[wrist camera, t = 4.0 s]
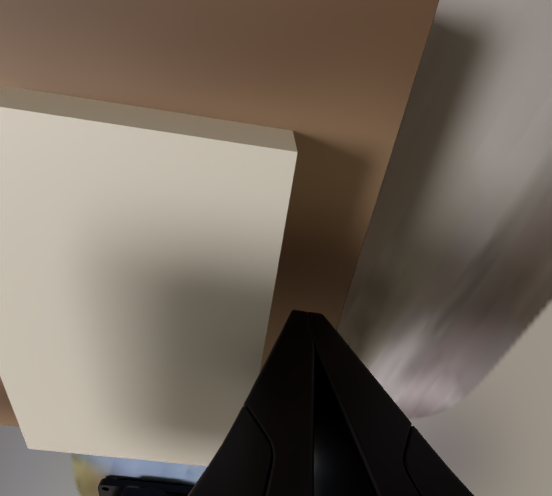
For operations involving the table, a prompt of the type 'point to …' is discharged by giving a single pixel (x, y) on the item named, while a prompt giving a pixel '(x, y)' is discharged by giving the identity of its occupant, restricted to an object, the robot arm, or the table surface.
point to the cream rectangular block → (135, 272)
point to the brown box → (248, 100)
